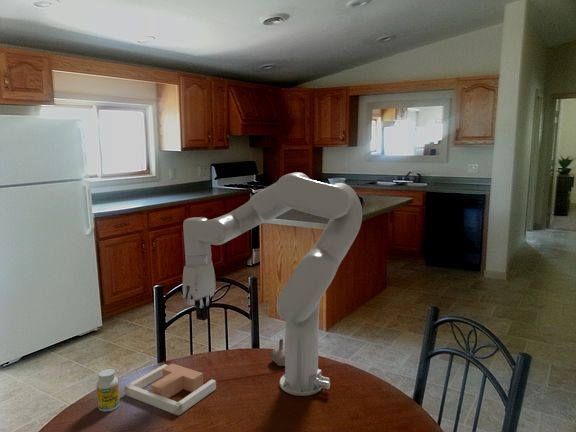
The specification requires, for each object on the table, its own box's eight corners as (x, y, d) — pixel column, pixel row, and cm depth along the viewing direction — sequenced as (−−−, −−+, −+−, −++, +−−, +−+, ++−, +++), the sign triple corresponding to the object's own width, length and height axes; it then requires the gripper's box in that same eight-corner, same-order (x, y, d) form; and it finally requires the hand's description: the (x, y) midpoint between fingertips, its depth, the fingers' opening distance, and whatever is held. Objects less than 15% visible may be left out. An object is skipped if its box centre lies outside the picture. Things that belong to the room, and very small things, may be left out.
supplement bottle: (117, 398, 121) (115, 365, 120) (122, 408, 117) (120, 373, 115) (96, 404, 118) (93, 371, 117) (100, 414, 114) (97, 379, 112)
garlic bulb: (273, 356, 146) (273, 333, 145) (295, 358, 145) (295, 335, 143) (267, 367, 139) (267, 343, 138) (290, 369, 137) (290, 345, 136)
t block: (203, 386, 127) (202, 373, 127) (172, 406, 117) (172, 392, 117) (172, 375, 133) (172, 363, 133) (141, 394, 123) (140, 380, 123)
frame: (216, 388, 126) (215, 380, 125) (178, 415, 113) (178, 406, 113) (164, 371, 136) (164, 364, 135) (125, 394, 123) (124, 386, 123)
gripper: (205, 253, 139) (208, 309, 141) (170, 264, 126) (175, 325, 128) (224, 255, 135) (227, 313, 137) (190, 266, 122) (194, 330, 125)
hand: (202, 319), depth 133 cm, fingers closed
